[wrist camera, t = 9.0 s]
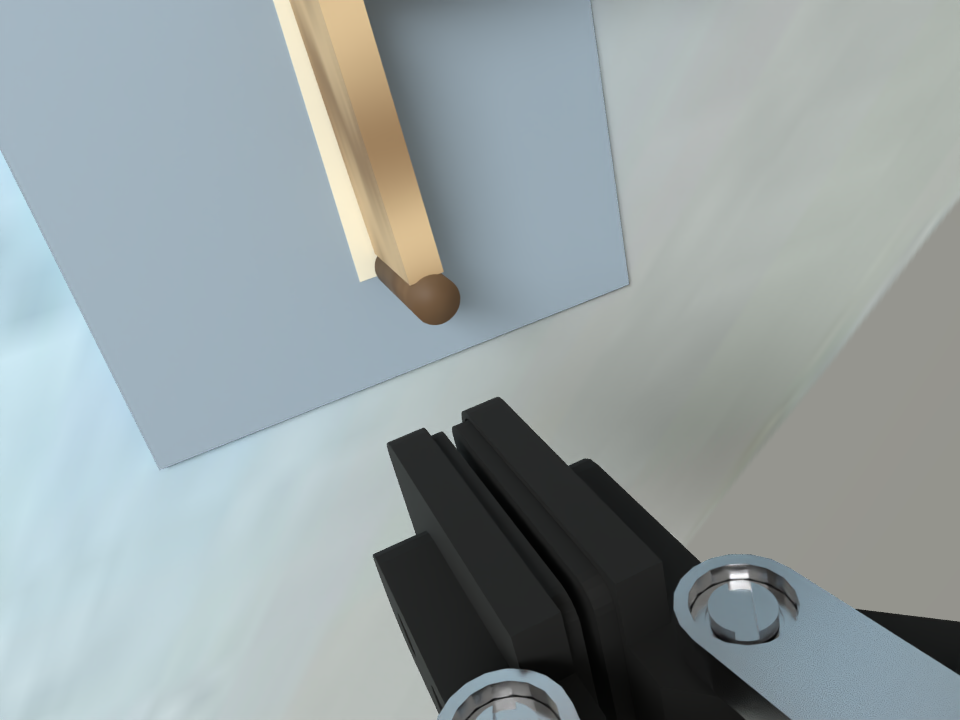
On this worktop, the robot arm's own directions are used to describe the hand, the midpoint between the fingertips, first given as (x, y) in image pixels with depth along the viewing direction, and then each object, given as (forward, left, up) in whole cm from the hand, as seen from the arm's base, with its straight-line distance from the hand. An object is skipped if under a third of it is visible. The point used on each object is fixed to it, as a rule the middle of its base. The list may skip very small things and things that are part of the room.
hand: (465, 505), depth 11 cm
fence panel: (-4, -1, -19) cm, 19 cm away
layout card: (-4, -2, -19) cm, 20 cm away
